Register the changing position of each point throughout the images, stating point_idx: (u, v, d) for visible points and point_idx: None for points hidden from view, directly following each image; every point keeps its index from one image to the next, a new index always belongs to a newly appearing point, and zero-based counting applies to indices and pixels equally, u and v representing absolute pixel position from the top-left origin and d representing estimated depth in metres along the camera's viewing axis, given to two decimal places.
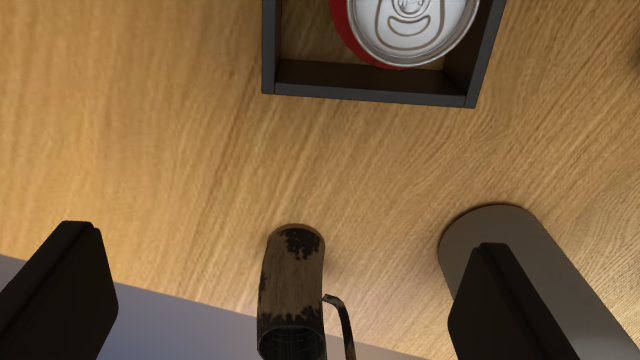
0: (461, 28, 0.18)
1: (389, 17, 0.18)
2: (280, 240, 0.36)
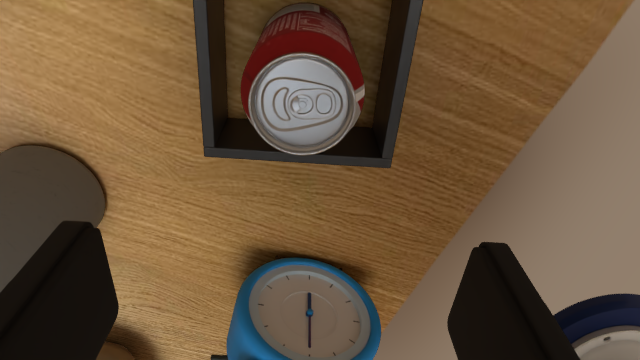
0: (282, 145, 0.22)
1: (287, 88, 0.21)
2: None
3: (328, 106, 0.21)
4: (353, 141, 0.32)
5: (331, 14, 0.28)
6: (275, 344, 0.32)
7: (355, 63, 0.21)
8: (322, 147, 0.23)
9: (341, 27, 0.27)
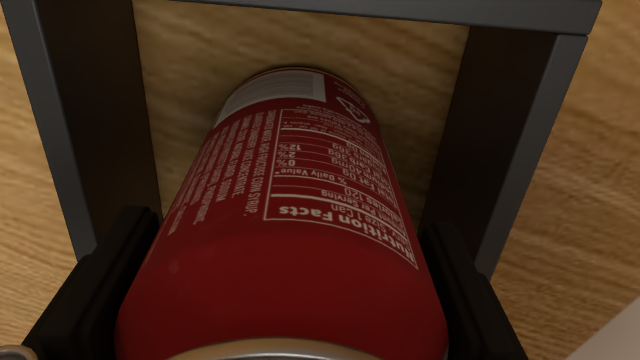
0: None
1: None
2: None
3: None
4: None
5: (348, 94, 0.14)
6: None
7: (432, 304, 0.07)
8: None
9: (371, 129, 0.13)
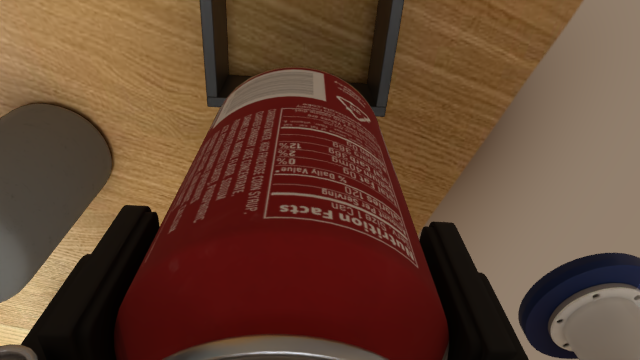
0: None
1: None
2: None
3: None
4: None
5: (348, 93, 0.14)
6: None
7: (433, 302, 0.07)
8: None
9: (371, 128, 0.13)
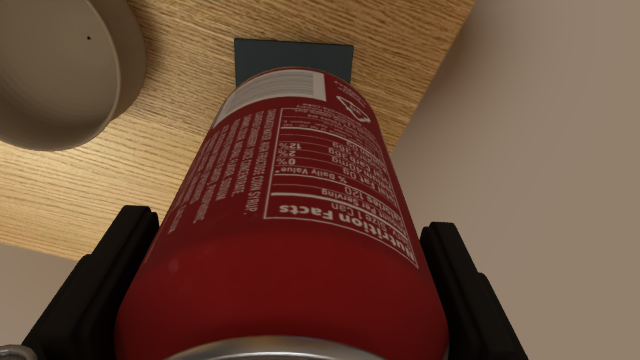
0: None
1: None
2: None
3: None
4: None
5: (348, 93, 0.14)
6: None
7: (433, 303, 0.07)
8: None
9: (371, 128, 0.13)
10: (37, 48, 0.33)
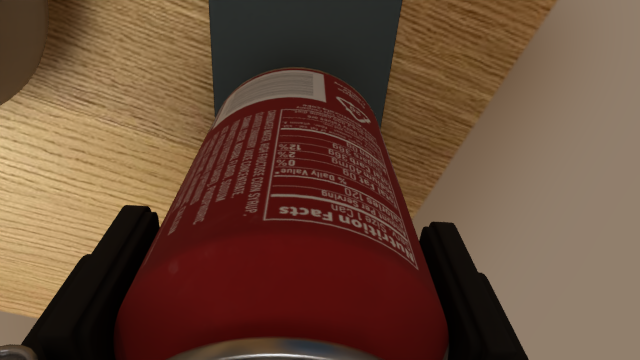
0: None
1: None
2: None
3: None
4: None
5: (348, 94, 0.14)
6: None
7: (432, 304, 0.07)
8: None
9: (371, 129, 0.13)
10: None
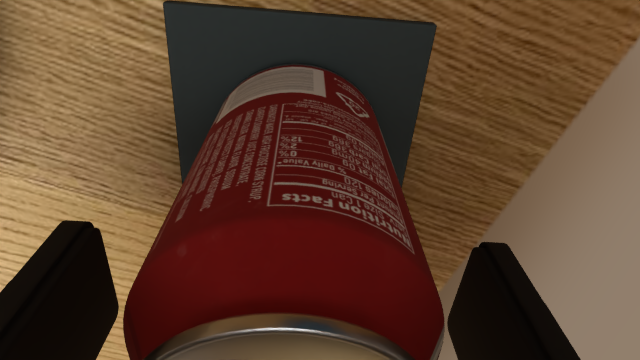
0: None
1: None
2: None
3: None
4: None
5: (347, 89, 0.14)
6: None
7: (428, 287, 0.08)
8: None
9: (370, 124, 0.13)
10: None
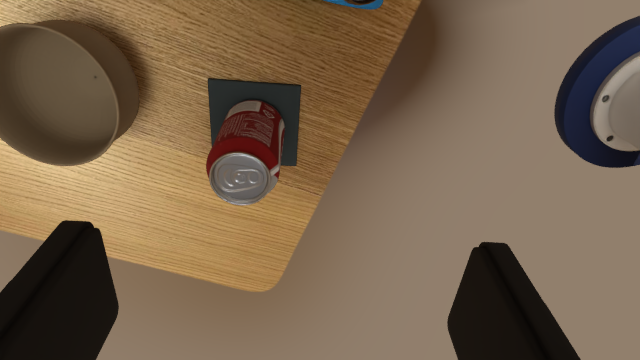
0: (230, 199, 0.38)
1: (231, 169, 0.37)
2: None
3: (256, 178, 0.37)
4: None
5: (268, 108, 0.44)
6: None
7: (271, 153, 0.37)
8: (254, 200, 0.38)
9: (272, 119, 0.43)
10: (55, 85, 0.43)
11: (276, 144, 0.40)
